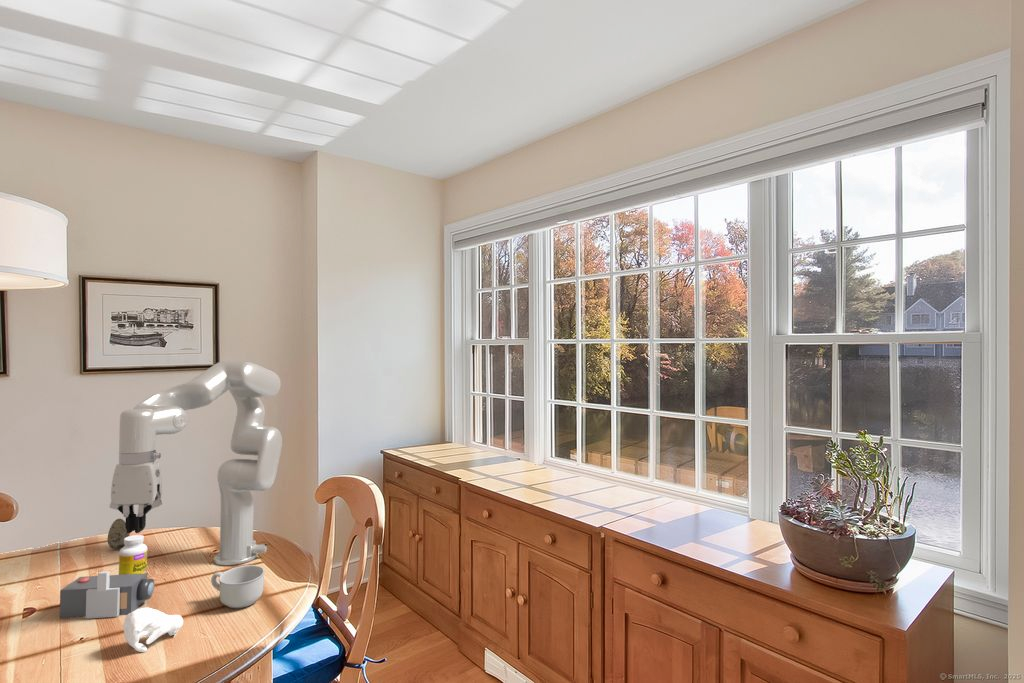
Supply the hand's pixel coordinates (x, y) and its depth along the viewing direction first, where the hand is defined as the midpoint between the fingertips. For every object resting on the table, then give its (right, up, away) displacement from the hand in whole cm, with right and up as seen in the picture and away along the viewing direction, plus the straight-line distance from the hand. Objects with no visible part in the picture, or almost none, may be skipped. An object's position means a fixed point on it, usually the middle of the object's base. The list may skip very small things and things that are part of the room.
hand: (135, 531), depth 136 cm
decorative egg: (-36, -22, +44) cm, 61 cm away
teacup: (+22, -22, +7) cm, 32 cm away
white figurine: (+13, -21, -12) cm, 28 cm away
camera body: (-9, -21, +3) cm, 23 cm away
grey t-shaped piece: (-7, -21, -1) cm, 22 cm away
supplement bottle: (-14, -22, +19) cm, 31 cm away
